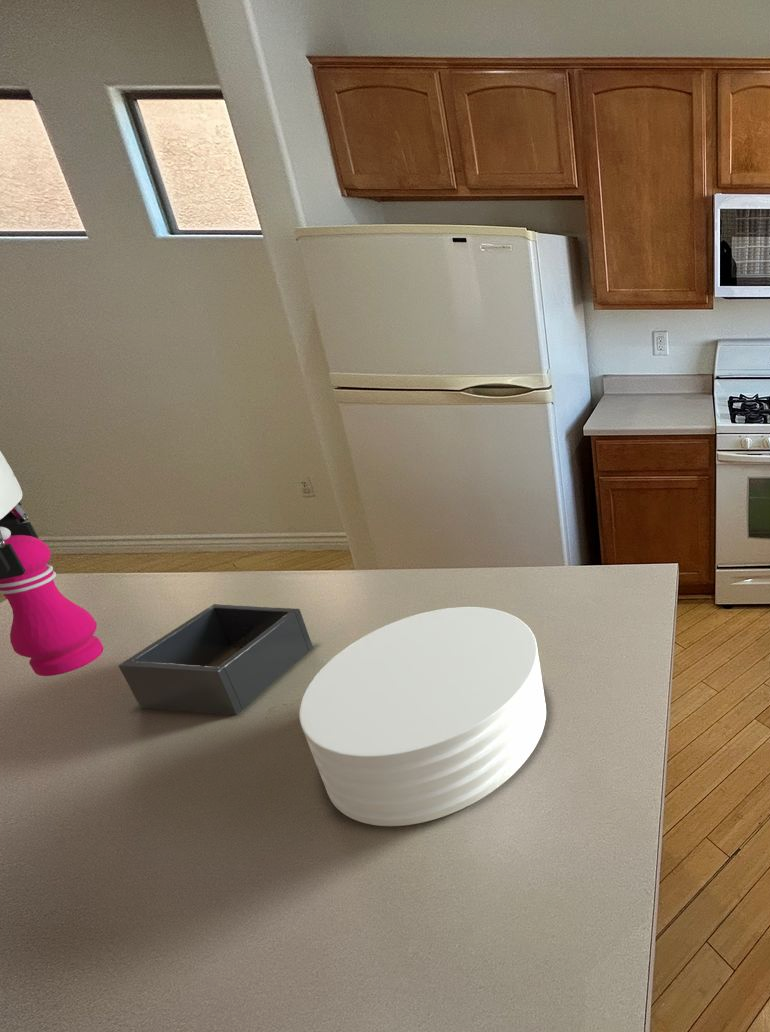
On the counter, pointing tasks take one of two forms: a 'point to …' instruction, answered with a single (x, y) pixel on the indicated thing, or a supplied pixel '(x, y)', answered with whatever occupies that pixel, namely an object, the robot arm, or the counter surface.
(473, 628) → the plate stack
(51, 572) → the pepper mill
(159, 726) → the counter surface
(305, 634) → the open box
